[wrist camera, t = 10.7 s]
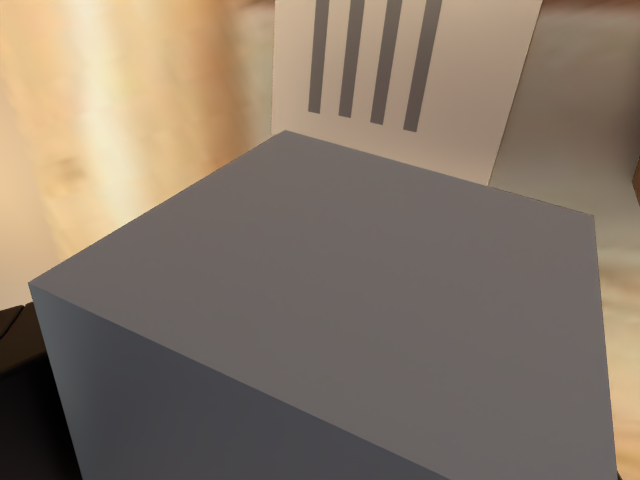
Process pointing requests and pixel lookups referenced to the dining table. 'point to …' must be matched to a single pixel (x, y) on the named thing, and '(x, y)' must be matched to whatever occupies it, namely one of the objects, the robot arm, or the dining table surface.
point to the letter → (402, 77)
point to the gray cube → (334, 329)
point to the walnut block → (637, 181)
